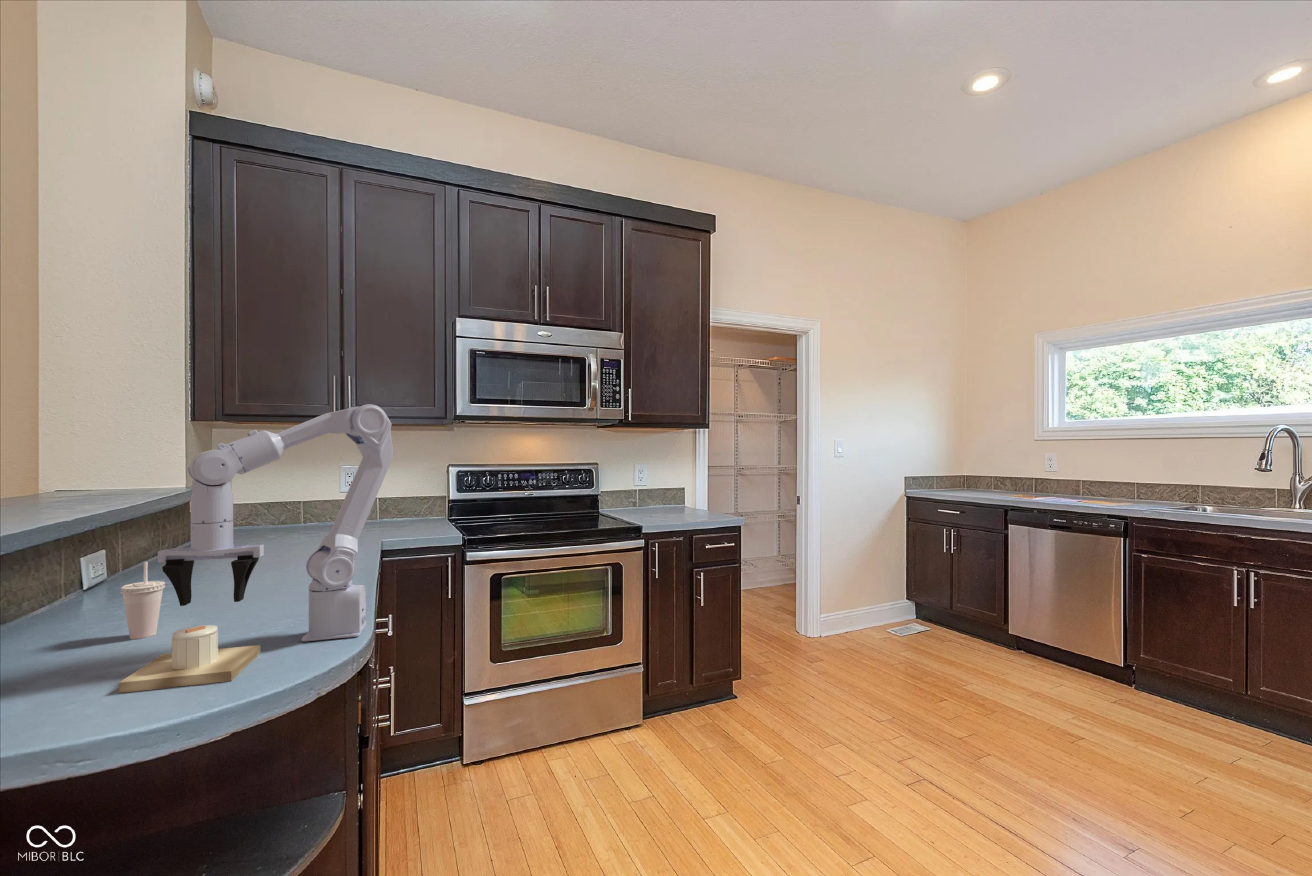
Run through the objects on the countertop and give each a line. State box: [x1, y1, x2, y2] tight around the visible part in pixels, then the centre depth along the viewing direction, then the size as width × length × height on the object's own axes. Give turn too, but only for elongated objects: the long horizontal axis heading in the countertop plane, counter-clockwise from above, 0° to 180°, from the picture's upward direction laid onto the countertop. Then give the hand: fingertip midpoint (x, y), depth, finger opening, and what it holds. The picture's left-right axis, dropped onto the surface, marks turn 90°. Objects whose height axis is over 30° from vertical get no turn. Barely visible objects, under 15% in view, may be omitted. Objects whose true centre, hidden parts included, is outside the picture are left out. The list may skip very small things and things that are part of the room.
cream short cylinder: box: [171, 624, 219, 669], centre depth 92 cm, size 6×6×5 cm
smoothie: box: [119, 561, 166, 640], centre depth 109 cm, size 6×6×14 cm
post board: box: [118, 644, 262, 694], centre depth 92 cm, size 14×12×5 cm
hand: (212, 602), depth 97 cm, fingers open, 7 cm apart
